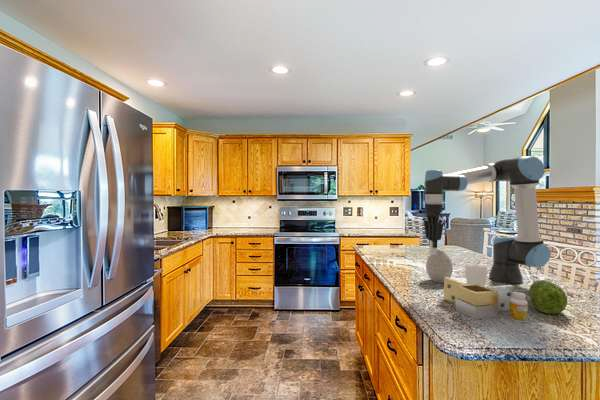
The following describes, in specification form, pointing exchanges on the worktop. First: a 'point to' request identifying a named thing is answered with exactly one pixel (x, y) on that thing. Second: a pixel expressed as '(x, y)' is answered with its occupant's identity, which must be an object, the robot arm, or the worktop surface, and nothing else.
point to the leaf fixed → (489, 309)
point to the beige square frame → (468, 293)
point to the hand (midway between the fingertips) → (433, 254)
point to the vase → (439, 266)
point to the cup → (476, 274)
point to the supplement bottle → (518, 307)
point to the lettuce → (547, 297)
